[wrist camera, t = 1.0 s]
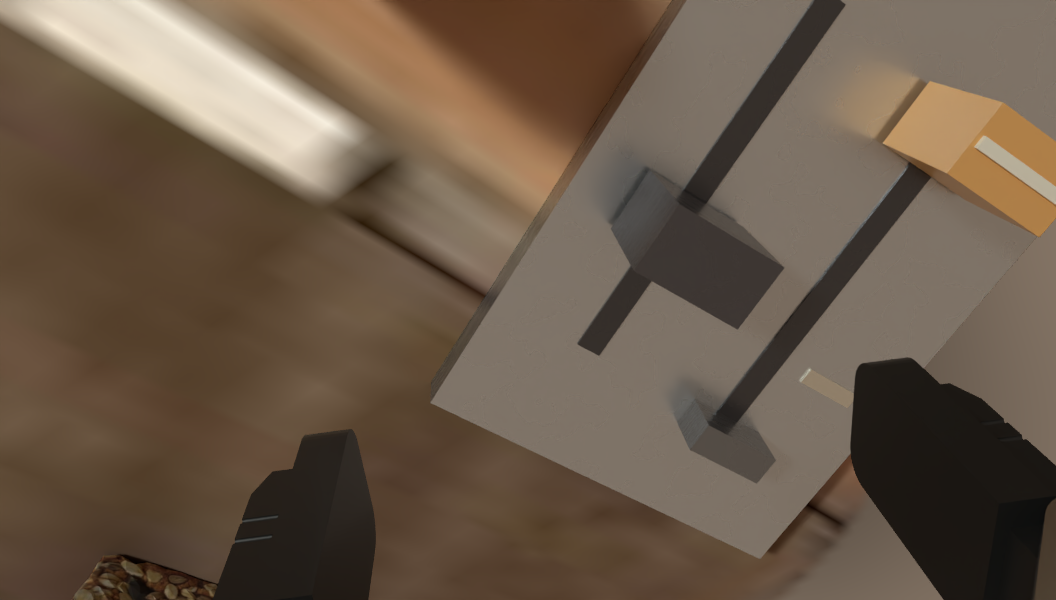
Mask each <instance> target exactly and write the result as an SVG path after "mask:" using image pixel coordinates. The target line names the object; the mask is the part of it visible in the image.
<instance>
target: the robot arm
mask: <svg viewBox="0 0 1056 600" xmlns="http://www.w3.org/2000/svg"><path fill="white" fill-rule="evenodd" d="M850 451H851V459H852V464H853V468H854V471H855V474H856V476H857V478H858V480H859V482H860V484H861V485H862V487H863V488H864V490H865V491H866V493H867V494H868V495H869V497H870V498H871V499H872V501H873V502H874V504H875V505H876V506H877V508H878V509H879V511H880V512H881V513H882V515H883V516H884V517H885V519H886V520H887V521H888V523H889V524H890V526H891V527H892V528H893V530H894V531H895V533H896V534H897V536H898V537H899V538H900V540H901V541H902V543H903V544H904V545H905V547H906V548H907V549H908V551H909V552H910V554H911V555H912V556H913V558H914V559H915V560H916V562H917V563H918V565H919V566H920V567H921V569H922V570H923V572H924V573H925V574H926V576H927V577H928V578H929V580H930V581H931V583H932V584H933V586H934V587H935V588H936V590H937V591H938V592H939V594H940V595H941V596H942V598H943V599H944V600H1056V466H1055V465H1054V464H1053V463H1052V462H1051V461H1050V460H1049V459H1048V458H1047V457H1046V456H1044V455H1043V454H1042V453H1041V452H1040V451H1039V450H1038V449H1037V448H1036V447H1034V446H1033V445H1032V444H1031V443H1030V442H1029V441H1028V440H1026V439H1025V440H1023V439H1022V435H1021V434H1020V433H1019V432H1018V431H1017V430H1015V429H1014V428H1013V427H1012V426H1011V425H1010V424H1009V423H1004V419H1003V418H1002V417H1001V416H1000V415H999V414H998V413H997V412H996V411H995V410H993V409H992V408H991V407H990V406H989V405H988V404H987V403H986V402H985V401H983V400H982V399H981V398H979V397H977V396H975V395H973V394H970V393H968V392H966V391H964V390H962V389H960V388H958V387H956V386H954V385H952V384H949V383H948V384H941V385H940V384H939V383H938V382H937V381H936V380H935V379H934V378H933V377H932V376H931V375H930V374H929V373H928V372H927V371H926V370H925V369H924V368H923V367H922V366H920V365H919V364H918V363H917V362H916V361H915V360H914V359H912V358H909V357H906V358H898V359H890V360H883V361H875V362H868V363H862V364H860V365H859V366H858V368H857V370H856V374H855V383H854V398H853V412H852V426H851V441H850ZM242 521H243V523H242V524H240V526H239V529H238V532H237V534H236V537H235V544H233V545H232V548H231V551H230V553H229V556H228V559H227V561H226V564H225V567H224V570H223V572H222V575H221V578H220V580H219V583H218V586H217V588H216V591H215V594H214V597H213V599H212V600H368V597H369V590H370V583H371V576H372V568H373V561H374V554H375V544H376V532H375V519H374V512H373V507H372V502H371V498H370V494H369V489H368V485H367V481H366V476H365V472H364V468H363V464H362V459H361V455H360V451H359V446H358V442H357V438H356V435H355V433H354V431H353V430H352V429H349V430H341V431H333V432H326V433H318V434H311V435H305V436H304V437H303V438H302V441H301V444H300V447H299V451H298V454H297V457H296V460H295V463H294V467H293V469H289V470H281V471H274V472H272V473H271V474H270V475H269V476H268V477H267V478H266V479H265V480H264V481H263V482H262V484H261V485H260V486H259V487H258V488H257V489H256V490H255V491H254V492H253V493H252V494H251V497H250V499H249V502H248V505H247V507H246V510H245V513H244V515H243V518H242Z"/></svg>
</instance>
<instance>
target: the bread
mask: <svg viewBox="0 0 1056 600" xmlns="http://www.w3.org/2000/svg"><path fill="white" fill-rule="evenodd" d="M216 588H217V585H216V584H212V583H209V582H205V581H202V580H199V579H196V578H194V577H191V576H189V575H187V574H184V573H182V572H178V571H173V570H169V569H165V568H162V567H160V566H158V565H156V564H151V563H140V564H134V563H132V562H131V561H130V560H128V559H126V558H125V557H123V556H120V555H109V556H108V555H104V556H103V557H102V559H101V560H100V562H98V564H97V565H96V567H95V568H94V570H93V571H92V573H91V575H90V576H89V578H88V579H87V581H86V582H84V584H83V585H82V586H81V587H80V588H79V590H78V591H77V592H76V594H75V595H74V597H73V598H72V600H212V599H213V597H214V594H215V591H216Z"/></svg>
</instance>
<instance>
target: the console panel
mask: <svg viewBox="0 0 1056 600" xmlns="http://www.w3.org/2000/svg"><path fill="white" fill-rule="evenodd" d="M929 81H931V82H935V83H938V84H942V85H945V86H948V87H952V88H955V89H959V90H962V91H966V92H969V93H972V94H976V95H979V96H983V97H986V98H990V99H993V100H997V101H1000V102H1003V103H1005V104H1006V105H1008V106H1009V107H1010V108H1012V109H1013V110H1014V111H1016V112H1017V113H1018V114H1020V115H1021V116H1022V117H1024V118H1025V119H1026V120H1028V121H1029V122H1030V123H1032V124H1033V125H1034V126H1036V127H1037V128H1038V129H1040V130H1041V131H1042V132H1044V133H1045V134H1046V135H1048V136H1049V137H1050V138H1052V139H1053V140H1054V141H1056V0H672V2H671V3H670V5H669V6H668V8H667V10H666V11H665V13H664V14H663V16H662V17H661V19H660V21H659V22H658V24H657V25H656V27H655V29H654V30H653V32H652V33H651V35H650V37H649V38H648V40H647V41H646V43H645V44H644V46H643V48H642V49H641V51H640V52H639V54H638V56H637V57H636V59H635V60H634V62H633V63H632V65H631V67H630V68H629V70H628V71H627V73H626V75H625V76H624V78H623V79H622V81H621V82H620V84H619V86H618V87H617V89H616V90H615V92H614V94H613V95H612V97H611V98H610V100H609V101H608V103H607V105H606V106H605V108H604V109H603V111H602V113H601V114H600V116H599V117H598V119H597V120H596V122H595V124H594V125H593V127H592V128H591V130H590V132H589V133H588V135H587V136H586V138H585V139H584V141H583V143H582V144H581V146H580V147H579V149H578V151H577V152H576V154H575V155H574V157H573V159H572V160H571V162H570V163H569V165H568V166H567V168H566V170H565V171H564V173H563V174H562V176H561V178H560V179H559V181H558V182H557V184H556V185H555V187H554V189H553V190H552V192H551V193H550V195H549V197H548V198H547V200H546V201H545V203H544V204H543V206H542V208H541V209H540V211H539V212H538V214H537V216H536V217H535V219H534V220H533V222H532V223H531V225H530V227H529V228H528V230H527V231H526V233H525V235H524V236H523V238H522V239H521V241H520V242H519V244H518V246H517V247H516V249H515V250H514V252H513V254H512V255H511V257H510V258H509V260H508V261H507V263H506V265H505V266H504V268H503V269H502V271H501V273H500V274H499V276H498V277H497V279H496V281H495V282H494V284H493V285H492V287H491V288H490V290H489V292H488V293H487V295H486V296H485V298H484V300H483V301H482V303H481V304H480V306H479V307H478V309H477V311H476V312H475V314H474V315H473V317H472V319H471V320H470V322H469V323H468V325H467V326H466V328H465V330H464V331H463V333H462V334H461V336H460V338H459V339H458V341H457V342H456V344H455V345H454V347H453V349H452V350H451V352H450V353H449V355H448V357H447V358H446V360H445V361H444V363H443V364H442V366H441V368H440V369H439V371H438V372H437V374H436V376H435V377H434V379H433V380H432V382H431V399H430V403H432V404H434V405H436V406H438V407H440V408H442V409H444V410H447V411H449V412H451V413H453V414H455V415H457V416H459V417H461V418H463V419H466V420H468V421H470V422H472V423H474V424H476V425H478V426H480V427H482V428H485V429H487V430H489V431H491V432H493V433H495V434H497V435H499V436H501V437H504V438H506V439H508V440H510V441H512V442H514V443H516V444H518V445H520V446H523V447H525V448H527V449H529V450H531V451H533V452H535V453H537V454H539V455H542V456H544V457H546V458H548V459H550V460H552V461H554V462H556V463H558V464H561V465H563V466H565V467H567V468H569V469H571V470H573V471H575V472H577V473H580V474H582V475H584V476H586V477H588V478H590V479H592V480H594V481H596V482H599V483H601V484H603V485H605V486H607V487H609V488H611V489H613V490H615V491H618V492H620V493H622V494H624V495H626V496H628V497H630V498H632V499H634V500H637V501H639V502H641V503H643V504H645V505H647V506H649V507H651V508H653V509H656V510H658V511H660V512H662V513H664V514H666V515H668V516H670V517H672V518H675V519H677V520H679V521H681V522H683V523H685V524H687V525H689V526H691V527H694V528H696V529H698V530H700V531H702V532H704V533H706V534H708V535H710V536H713V537H715V538H717V539H719V540H721V541H723V542H725V543H727V544H729V545H732V546H734V547H736V548H738V549H740V550H742V551H744V552H746V553H748V554H751V555H753V556H755V557H757V558H759V559H760V558H761V557H762V556H763V555H764V554H765V552H766V551H767V550H768V549H769V548H770V547H771V545H772V544H773V543H774V542H775V541H776V540H777V539H778V537H779V536H780V535H781V534H782V533H783V532H784V530H785V529H786V528H787V527H788V526H789V525H790V523H791V522H792V521H793V520H794V519H795V518H796V516H797V515H798V514H799V513H800V512H801V511H802V509H803V508H804V507H805V506H806V505H807V504H808V502H809V501H810V500H811V499H812V498H813V497H814V495H815V494H816V493H817V492H818V491H819V490H820V489H821V487H822V486H823V485H824V484H825V483H826V482H827V480H828V479H829V478H830V477H831V476H832V475H833V473H834V472H835V471H836V470H837V469H838V468H839V466H840V465H841V464H842V463H843V462H844V461H845V459H846V458H847V457H848V456H849V455H850V454H851V451H850V441H851V426H852V412H853V398H854V383H855V374H856V370H857V368H858V366H859V365H860V364H862V363H868V362H875V361H883V360H890V359H898V358H906V357H909V358H912V359H914V360H915V361H916V362H917V363H918V364H919V365H920V366H922V367H923V368H925V366H926V365H927V364H928V363H929V362H930V361H931V359H932V358H933V357H934V356H935V355H936V354H937V352H938V351H939V350H940V349H941V348H942V347H943V346H944V344H945V343H946V342H947V341H948V340H949V339H950V337H951V336H952V335H953V334H954V333H955V332H956V330H957V329H958V328H959V327H960V326H961V325H962V323H963V322H964V321H965V320H966V318H968V316H969V315H970V314H971V313H972V312H973V310H974V309H975V308H976V307H977V306H978V305H979V304H980V302H981V301H982V300H983V299H984V298H985V297H986V295H987V294H988V293H989V292H990V291H991V290H992V289H993V287H994V286H995V285H996V284H997V283H998V282H999V280H1000V279H1001V278H1002V277H1003V276H1004V275H1005V273H1006V272H1007V271H1008V270H1009V269H1010V268H1011V266H1012V265H1013V264H1014V263H1015V262H1016V261H1017V259H1018V258H1019V257H1020V256H1021V255H1022V254H1023V252H1024V251H1025V250H1026V249H1027V248H1028V247H1029V246H1030V244H1031V243H1032V242H1033V241H1034V240H1035V239H1036V237H1037V236H1035V235H1033V234H1032V233H1030V232H1028V231H1026V230H1024V229H1022V228H1020V227H1018V226H1016V225H1014V224H1012V223H1010V222H1008V221H1006V220H1004V219H1002V218H1000V217H998V216H996V215H994V214H992V213H990V212H988V211H986V210H984V209H982V208H980V207H978V206H976V205H974V204H972V203H970V202H968V201H966V200H964V199H963V198H962V197H960V196H959V195H957V194H956V193H954V192H953V191H951V190H950V189H948V188H947V187H946V186H944V185H943V184H941V183H940V182H938V181H937V180H935V179H934V178H932V177H931V176H930V175H928V174H927V173H925V172H924V171H922V170H921V169H919V168H918V167H916V166H915V165H914V164H912V163H911V162H909V161H908V160H906V159H905V158H903V157H902V156H900V155H899V154H897V153H896V152H895V151H893V150H892V149H890V148H889V147H887V146H886V145H884V144H883V142H884V141H885V139H886V138H887V137H888V135H889V134H890V133H891V131H892V130H893V129H894V128H895V126H896V125H897V124H898V122H899V121H900V120H901V118H902V117H903V116H904V114H905V113H906V112H907V110H908V109H909V108H910V106H911V105H912V104H913V102H914V101H915V100H916V99H917V97H918V96H919V95H920V93H921V92H922V91H923V89H924V88H925V87H926V85H927V84H928V83H929Z"/></svg>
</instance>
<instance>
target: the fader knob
mask: <svg viewBox="0 0 1056 600" xmlns="http://www.w3.org/2000/svg"><path fill="white" fill-rule="evenodd" d="M883 144H884V145H886V146H887V147H889V148H890V149H892V150H893V151H895V152H896V153H897V154H899V155H900V156H902V157H903V158H905V159H906V160H908V161H909V162H911V163H912V164H914V165H915V166H916V167H918V168H919V169H921V170H922V171H924V172H925V173H927V174H928V175H930V176H931V177H932V178H934V179H935V180H937V181H938V182H940V183H941V184H943V185H944V186H946V187H947V188H948V189H950V190H951V191H953V192H954V193H956V194H957V195H959V196H960V197H962V198H963V199H964V200H966V201H968V202H970V203H972V204H974V205H976V206H978V207H980V208H982V209H984V210H986V211H988V212H990V213H992V214H994V215H996V216H998V217H1000V218H1002V219H1004V220H1006V221H1008V222H1010V223H1012V224H1014V225H1016V226H1018V227H1020V228H1022V229H1024V230H1026V231H1028V232H1030V233H1032V234H1033V235H1035V236H1037V237H1040V236H1041V235H1042V234H1043V232H1044V231H1045V230H1046V229H1047V228H1048V227H1049V226H1050V224H1051V223H1052V222H1053V221H1054V220H1055V219H1056V141H1054V140H1053V139H1052V138H1050V137H1049V136H1048V135H1046V134H1045V133H1044V132H1042V131H1041V130H1040V129H1038V128H1037V127H1036V126H1034V125H1033V124H1032V123H1030V122H1029V121H1028V120H1026V119H1025V118H1024V117H1022V116H1021V115H1020V114H1018V113H1017V112H1016V111H1014V110H1013V109H1012V108H1010V107H1009V106H1008V105H1006V104H1005V103H1003V102H1000V101H997V100H993V99H990V98H986V97H983V96H979V95H976V94H972V93H969V92H966V91H962V90H959V89H955V88H952V87H948V86H945V85H942V84H938V83H935V82H931V81H929V83H928V84H927V85H926V87H925V88H924V89H923V91H922V92H921V93H920V95H919V96H918V97H917V99H916V100H915V101H914V102H913V104H912V105H911V106H910V108H909V109H908V110H907V112H906V113H905V114H904V116H903V117H902V118H901V120H900V121H899V122H898V124H897V125H896V126H895V128H894V129H893V130H892V131H891V133H890V134H889V135H888V137H887V138H886V139H885V141H884V142H883Z"/></svg>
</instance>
